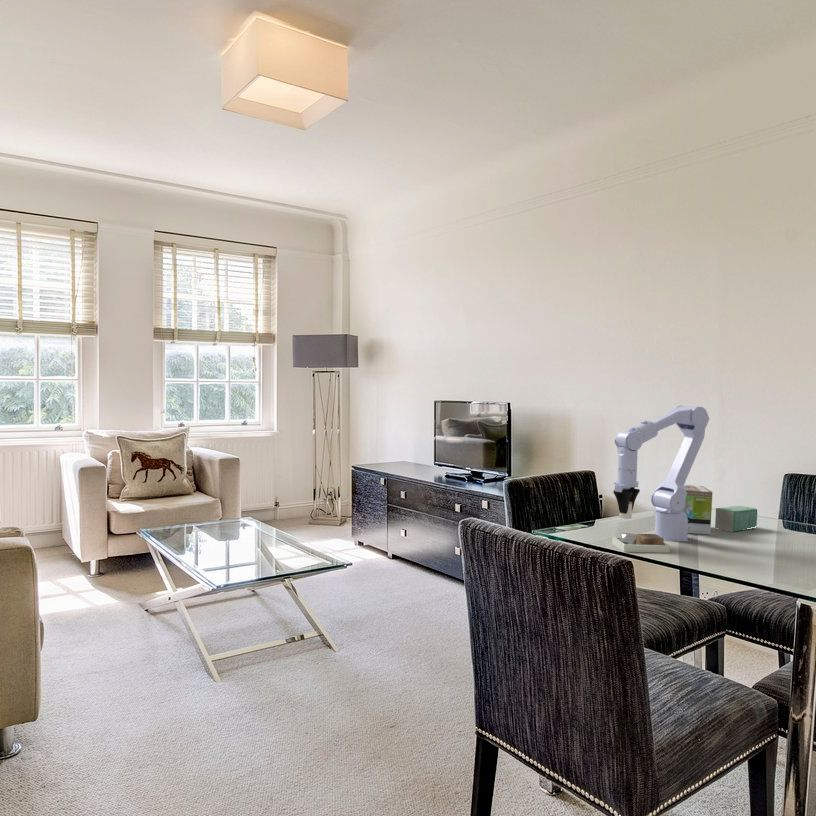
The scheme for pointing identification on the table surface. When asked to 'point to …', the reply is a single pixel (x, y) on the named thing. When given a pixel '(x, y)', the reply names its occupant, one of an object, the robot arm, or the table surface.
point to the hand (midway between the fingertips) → (625, 512)
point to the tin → (628, 538)
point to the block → (649, 539)
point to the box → (735, 518)
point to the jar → (629, 513)
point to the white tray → (640, 547)
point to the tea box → (698, 509)
